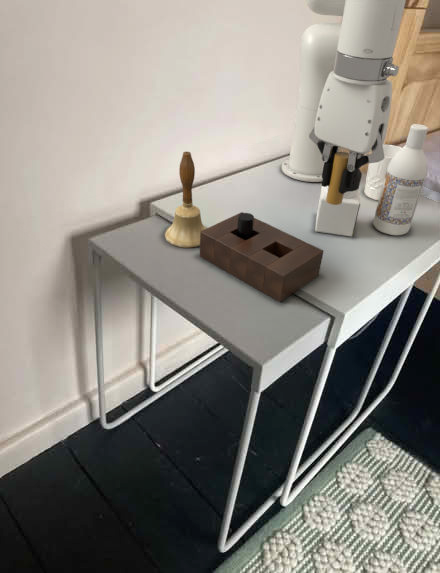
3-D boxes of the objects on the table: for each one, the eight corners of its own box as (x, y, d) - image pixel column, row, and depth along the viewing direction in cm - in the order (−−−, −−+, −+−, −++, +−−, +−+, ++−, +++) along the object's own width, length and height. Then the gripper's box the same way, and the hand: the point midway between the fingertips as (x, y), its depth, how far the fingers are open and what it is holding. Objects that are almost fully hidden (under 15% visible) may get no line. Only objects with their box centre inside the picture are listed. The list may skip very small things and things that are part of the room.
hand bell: (183, 253, 87) (184, 166, 77) (155, 233, 91) (153, 150, 82) (219, 238, 91) (223, 155, 82) (190, 220, 96) (192, 140, 87)
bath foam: (377, 215, 102) (403, 117, 90) (411, 225, 99) (443, 125, 87) (368, 229, 97) (394, 127, 85) (404, 240, 94) (436, 136, 82)
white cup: (354, 194, 109) (365, 150, 104) (371, 184, 114) (382, 141, 108) (387, 206, 105) (400, 161, 100) (403, 195, 110) (416, 151, 104)
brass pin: (331, 196, 83) (340, 150, 79) (344, 201, 82) (355, 155, 77) (322, 200, 82) (331, 154, 77) (336, 206, 80) (346, 159, 76)
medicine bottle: (352, 237, 94) (366, 178, 87) (314, 232, 95) (325, 173, 88) (352, 220, 100) (365, 163, 93) (316, 215, 101) (326, 158, 93)
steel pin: (253, 257, 87) (257, 216, 82) (243, 262, 85) (247, 221, 80) (241, 251, 88) (245, 211, 83) (232, 256, 86) (235, 215, 82)
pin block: (199, 256, 86) (200, 231, 83) (239, 235, 92) (241, 211, 89) (279, 302, 77) (284, 276, 74) (318, 275, 83) (324, 250, 80)
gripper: (428, 75, 67) (393, 197, 78) (327, 52, 76) (309, 165, 87) (402, 84, 63) (368, 213, 74) (298, 59, 71) (283, 177, 83)
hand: (336, 186), depth 80 cm, fingers closed on brass pin, 2 cm apart
